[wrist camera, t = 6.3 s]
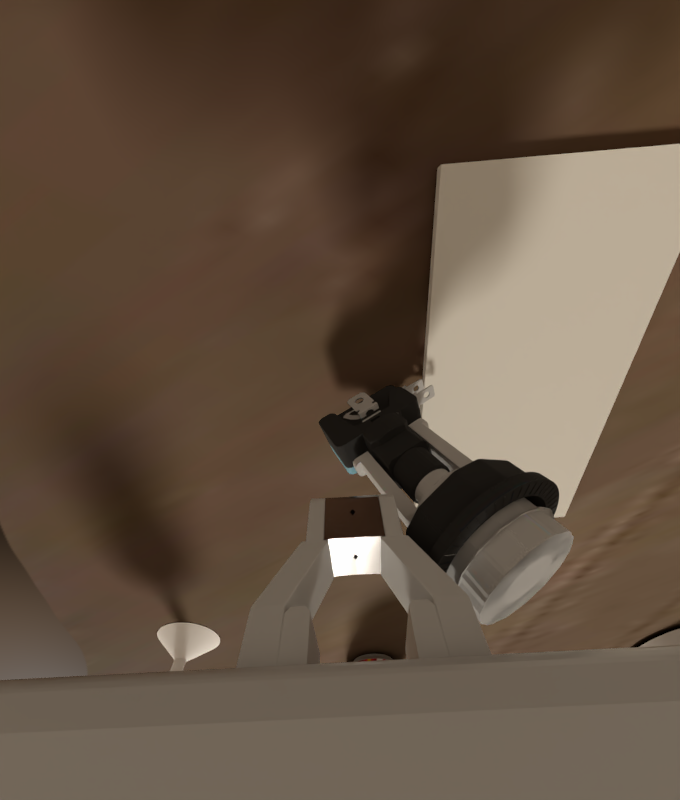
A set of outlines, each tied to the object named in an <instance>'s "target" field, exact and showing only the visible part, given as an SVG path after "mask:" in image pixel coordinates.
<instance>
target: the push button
mask: <svg viewBox="0 0 680 800" xmlns="http://www.w3.org/2000/svg"><path fill="white" fill-rule="evenodd" d="M416 385H418V389H417V390H416V391H414V390H413V389H414V387H415V386H416ZM427 391H428V392H429V395H428V396H427V397H426V398H424V394H425V392H427ZM434 395H435V393H434V387H433V385H430V386H428V387H427V388H425V389H424V385H423V380H422V379H419V380H418V381H416V382H414V383H413V384H411V385H409V386H408V387H406V386H404V387H397V388H396V387H394V386H387V387H385V388H383V389H382V390H380V391H378V392H376V393H375V394H373V395H371V396H370V397H369V396H368V395H367V394H366V393H359V394H358V395H356V396H354V397H352V398H351V399H349V400H348V402H347V403H348V404H349V405H350V406H351V408H350V409H348V410H346V411H344V412H343V413H341V414H339V415H338V416H337V415H336V414H329V415H327V416H325V417H324V418H322V419H321V420H320V421H319V425H320V426H321V428H322V430H323V432H324V434H325V436H326V438H327V440H328V442H329V444H330V446H331V448H332V450H333V451H334V453H335V454H336V455H337V457H338V458H339V460H340V461H341V463H342V464H343V466H344V467H345V468H346V470H347V471H348V473H350V474H355V473H358V474H359V475H360V476H364V475H367V476H368V477H369V479H370V480H371V481H372V482H373V484H374V485H375V486H376V488H377V489H378V490H379V492H380V493H381V494H393V496H394V499H395V503H396V507H397V511H398V515H399V517H400V519H401V520H402V521H403V523H404V524H405V525H406V526H407V530H406V535H408V536H409V537H410V538H411V539H412V540H413V541H414V542H415V543H416V544H417V545H418V546H419V547H420V548H421V549H422V550H423V551H424V552H425V553H426V554H427V555H428V556H429V557H430V558H431V559H432V560H433V561H434V562H435V563H436V564H437V565H438V566H439V567H440V568H441V569H442V570H443V571H444V572H445V573H446V574H447V575H448V576H449V577H450V578H451V579H452V580H453V581H454V582H455V583H456V584H457V585H458V586H459V587H460V588H461V589H462V590H463V591H464V592H465V593H466V594H467V595H468V596H469V598H470V601H471V603H472V606H473V608H474V611H475V613H476V616H477V619H478V620H479V621H480V623H481V624H486V625H489V624H493V623H495V622H497V621H499V620H502V619H504V618H506V617H508V616H509V615H510V614H512V613H513V612H514V611H516V610H517V609H518V608H520V607H521V606H522V605H524V604H525V603H526V602H527V601H528V600H529V599H530V598H531V597H533V596H534V595H535V594H536V593H537V592H538V591H539V590H540V589H541V588H542V587H543V586H544V585H545V584H546V583H547V582H548V580H549V579H550V578H551V577H552V576H553V574H554V573H555V572H556V571H557V570H558V568H559V567H560V566H561V564H562V563H563V561H564V560H565V558H566V556H567V554H568V553H569V551H570V549H571V546H572V544H573V538H574V537H573V536H572V534H571V532H570V531H569V530H568V529H566V528H565V527H563V526H562V525H561V524H559V523H558V522H557V521H555V520H554V514H555V512H556V509H557V506H558V502H559V489H558V487H557V485H556V484H555V483H554V482H553V481H551V480H550V479H548V478H546V477H545V476H543V475H542V474H540V473H537V472H524V471H523V470H521V469H520V468H518V467H517V466H515V465H514V464H512V463H511V462H509V461H507V460H492V459H477V460H475V461H472V460H471V459H469V458H468V457H467V456H465V455H464V454H463V453H461V452H460V451H459V450H457V449H456V448H455V447H453V446H452V445H451V444H449V443H448V442H447V441H445V440H444V439H443V438H441V437H440V436H439V435H437V434H436V433H435V432H433V431H432V430H430V429H429V426H428V423H427V421H425V420H424V419H422V418H421V414H420V410H419V408H420V405H421V404H423V403H424V402H426V401H428V400H429V399H431V398H432V397H434ZM361 398H362V399H364V400H363V401H361V402H360V403H358V404H357V403H355V401H356V400H357V399H361ZM401 489H403V490H404V491H405V492H406V493H407V495H408V496H409V497H410V498H411V499H412V500H413V501H414V502H415V503H417V504H418V506H417V508H416V507H415V505H414V504H413V503H412V502H411V501H410V500H409V498H408V497H407V496H406V495H405V494H404V493H403V492H402V490H401Z"/></svg>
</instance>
